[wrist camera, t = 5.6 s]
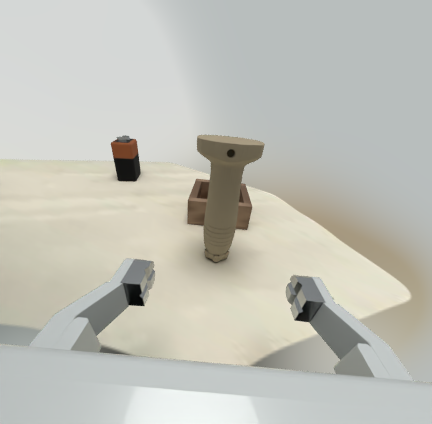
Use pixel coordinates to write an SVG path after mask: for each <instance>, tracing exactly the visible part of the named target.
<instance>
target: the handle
mask: <svg viewBox="0 0 432 424" xmlns="http://www.w3.org/2000/svg"><path fill="white" fill-rule="evenodd" d="M263 148H264V143H263V142H260V141H256V140H250V139H245V138H238V137H229V136H218V135H199V136H198V137H197V150H198V152H199V153H200V154H202V155H203V156H204V157H206V158H207V159H208V160H210V162H211V175H210V182H209V190H208V197H207V204H206V211H205V219H204V243H205V247H206V249H205V256H206V257H207V258H210V259H212V260H213V261H214V262H219V261H220V260H222V259H226V258H227V256H228V253H229V251H228V250H229V248H230V246H231V243H232V240H233V237H234V233H235V229H236V222H237V215H238V205H239V196H240V188H241V181H242V174H243V171H244V167H245V165H247V164H249V163H251V162H254V161H256V160H258V159H259V158H261V156H262V152H263Z"/></svg>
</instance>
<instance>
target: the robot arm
mask: <svg viewBox="0 0 432 424" xmlns="http://www.w3.org/2000/svg"><path fill="white" fill-rule="evenodd" d="M153 268H154V262H153V261H146V260H138V259H129V258H127V259H125V260H124V261H123V263H122V264H121V266H120V267H119V269H118V270H117V272H116V273H115V275H114V276H113V278H112V279H111V281H110V282H106V283H104V284H103V285H101V286H99V287H98V288H96V289H94V290H93V291H91V292H90V293H88V294H86V295H85V296H83V297H82V298H80V299H78V300H77V301H75V302H73V303H72V304H70V305H69V306H67V307H65V308H64V309H62V310H61V311H59V312H57V313H56V314H55V315H54V316H53V317H52V318H51V319H50V321H49V322H48V323H47V324H46V325H45V327H44V328H43V329H42V330H41V331H40V332H39V334H38V335H37V336H36V337H35V338H34V340H33V341H32V342H31V343H30V345H29V346H17V345H8V344H0V424H432V383H431V382H420V381H414V380H413V379H412V377H411V376H410V374H409V373H408V371H407V370H406V369H405V367H404V366H403V365H402V363H401V362H400V360H399V359H398V358H397V356H396V355H395V353H394V352H393V350H392V349H391V348H390V346H389V345H388V344H387V343H385V342H384V341H383V340H382V339H381V338H379V337H378V336H377V335H375V334H374V333H373V332H372V331H371V330H369V329H368V328H367V327H366V326H365V325H363V324H362V323H361V322H360V321H358V320H357V319H356V318H355V317H354V316H352V315H351V314H350V313H349V312H347V311H346V310H345V309H344V308H343V307H341V306H340V305H339V304H336V303H335V302H334V300H333V298H332V297H331V295H330V293H329V291H328V290H327V288H326V286H325V285H324V283H323V281H322V280H321V279H320V278H319V277H309V276H298V275H293V276H291V278H290V281H291V282H290V283H289V284H288V285H287V287H286V297H287V300H288V302H289V303H290V304H291V308H290V309H291V312H292V315H293V317H294V320H295V321H303V322H310V324H311V325H312V327H313V328H314V329H315V330H316V331H317V333H318V334H319V335H320V336H321V337H322V339H323V340H324V341H325V342H326V343H327V344H328V346H329V347H330V348H331V349H332V350H333V351H334V353H335V354H336V355H337V356H338V358H339V359H340V361H339V362H338V363H337V364H336V365H335V366H334V370H335V372H336V374H331V373H320V372H309V371H298V370H286V369H275V368H265V367H253V366H242V365H231V364H220V363H209V362H198V361H187V360H176V359H164V358H153V357H142V356H131V355H120V354H108V353H99V350H100V349H101V344H100V342H99V340H98V338H97V335H98V334H99V333H100V332H101V331H102V330H103V329H104V328H105V327H107V326H108V325H109V324H110V323H111V322H112V321H113V320H114V319H115V318H116V317H117V316H118V315H120V314H121V313H122V312H123V311H124V310H125V309H126V308H127V307H128V305H134V306H145V303H146V301H147V299H148V296H149V291H148V290H150V289H151V288H152V286H153V284H154V280H155V271H154V270H153Z"/></svg>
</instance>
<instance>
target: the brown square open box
mask: <svg viewBox="0 0 432 424" xmlns="http://www.w3.org/2000/svg"><path fill="white" fill-rule="evenodd" d="M209 182H210V180H203V179H196V181H195V184H194V186H193V189H192V192H191V194H190V197H189V199H188V224H196V225H204V219H205V211H206V204H207V197H208V190H209ZM251 210H252V204H251V201H250V198H249V195H248V192H247V188H246V185H245V184H241V188H240V196H239V205H238V215H237V222H236V229H246V230H247V228H248V224H249V219H250V215H251Z"/></svg>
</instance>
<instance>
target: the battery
mask: <svg viewBox="0 0 432 424" xmlns="http://www.w3.org/2000/svg"><path fill="white" fill-rule="evenodd" d="M111 147H112V152H113V157H114V162H115V167H116V172H117V177H118V180H119V181H136V180H137V178H138V176H139V174H140V164H139V156H138V148H137V141H136V139H130V138H129V136H122V137H117V140H115V141H113V142H112V143H111Z"/></svg>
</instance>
